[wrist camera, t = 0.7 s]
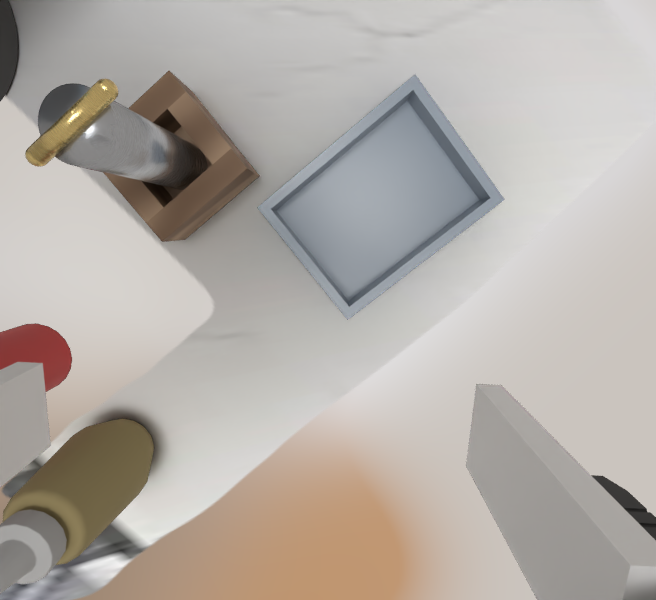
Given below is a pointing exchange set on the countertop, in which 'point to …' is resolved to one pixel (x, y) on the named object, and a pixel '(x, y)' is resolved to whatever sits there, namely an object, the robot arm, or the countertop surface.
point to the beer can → (37, 351)
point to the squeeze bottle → (73, 499)
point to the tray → (381, 199)
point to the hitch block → (209, 188)
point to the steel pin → (111, 138)
